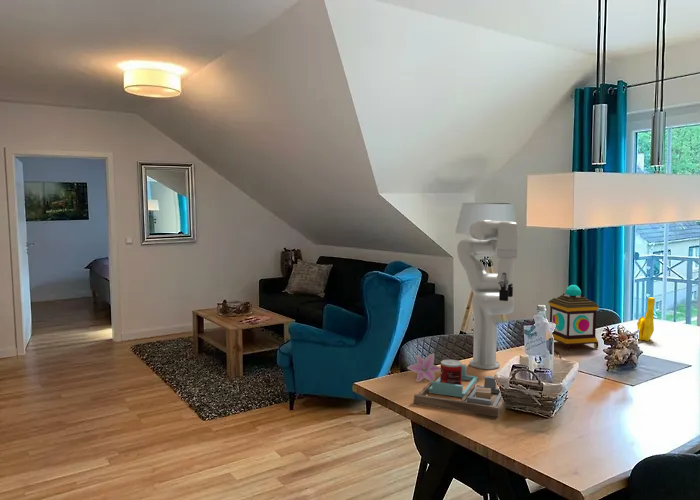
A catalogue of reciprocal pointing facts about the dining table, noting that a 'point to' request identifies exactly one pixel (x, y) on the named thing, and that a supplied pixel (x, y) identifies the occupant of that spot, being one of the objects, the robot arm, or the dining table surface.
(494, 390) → the grey organizer tray
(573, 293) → the decorative lantern
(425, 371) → the lily
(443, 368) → the canned food
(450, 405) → the divided compartment tray
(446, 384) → the teal rectangular frame
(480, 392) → the tan wooden cube
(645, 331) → the yellow foam finger
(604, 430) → the dining table surface
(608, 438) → the dining table surface
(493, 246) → the robot arm
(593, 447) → the dining table surface
